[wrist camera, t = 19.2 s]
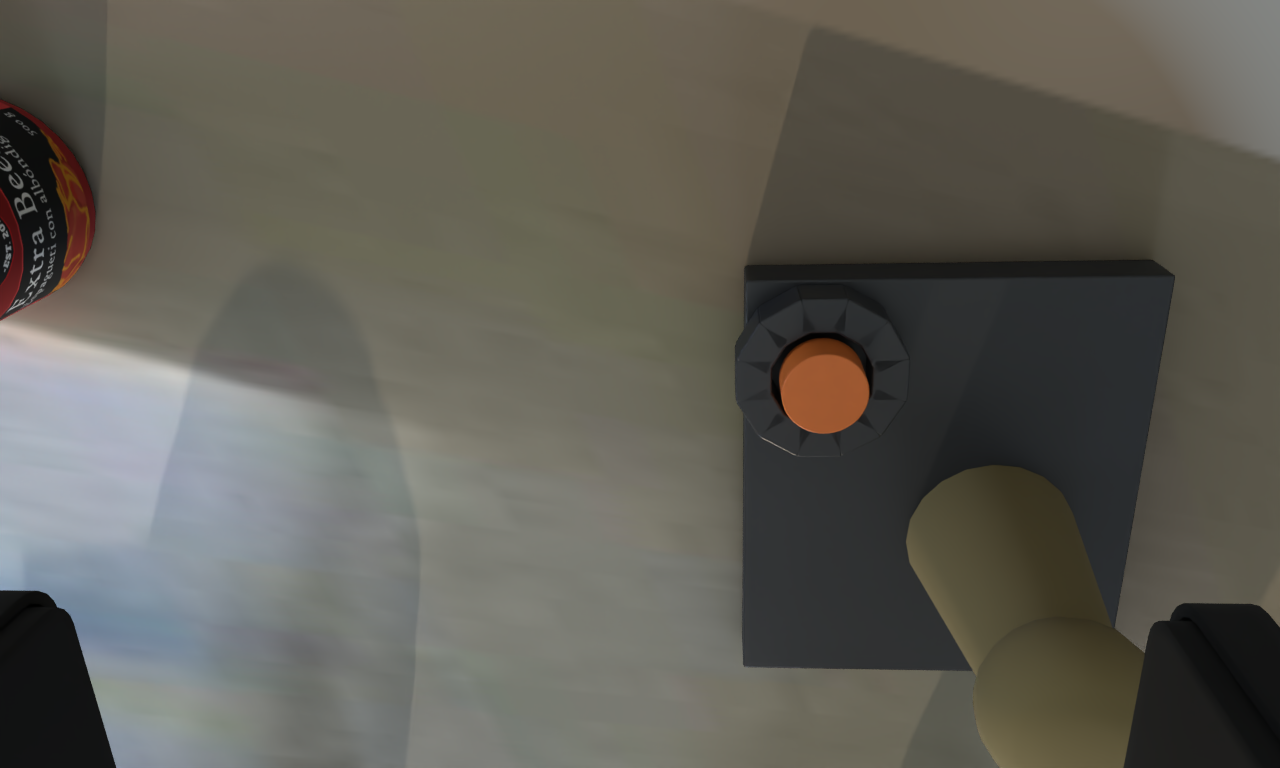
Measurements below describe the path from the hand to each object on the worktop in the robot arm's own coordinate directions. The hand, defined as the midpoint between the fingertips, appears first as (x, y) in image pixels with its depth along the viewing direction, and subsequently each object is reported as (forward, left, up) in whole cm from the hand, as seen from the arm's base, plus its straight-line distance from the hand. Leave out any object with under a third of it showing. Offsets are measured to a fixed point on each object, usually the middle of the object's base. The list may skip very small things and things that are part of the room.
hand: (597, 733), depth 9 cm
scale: (+12, +9, -28) cm, 32 cm away
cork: (+14, +11, -27) cm, 32 cm away
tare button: (+7, +4, -25) cm, 27 cm away
